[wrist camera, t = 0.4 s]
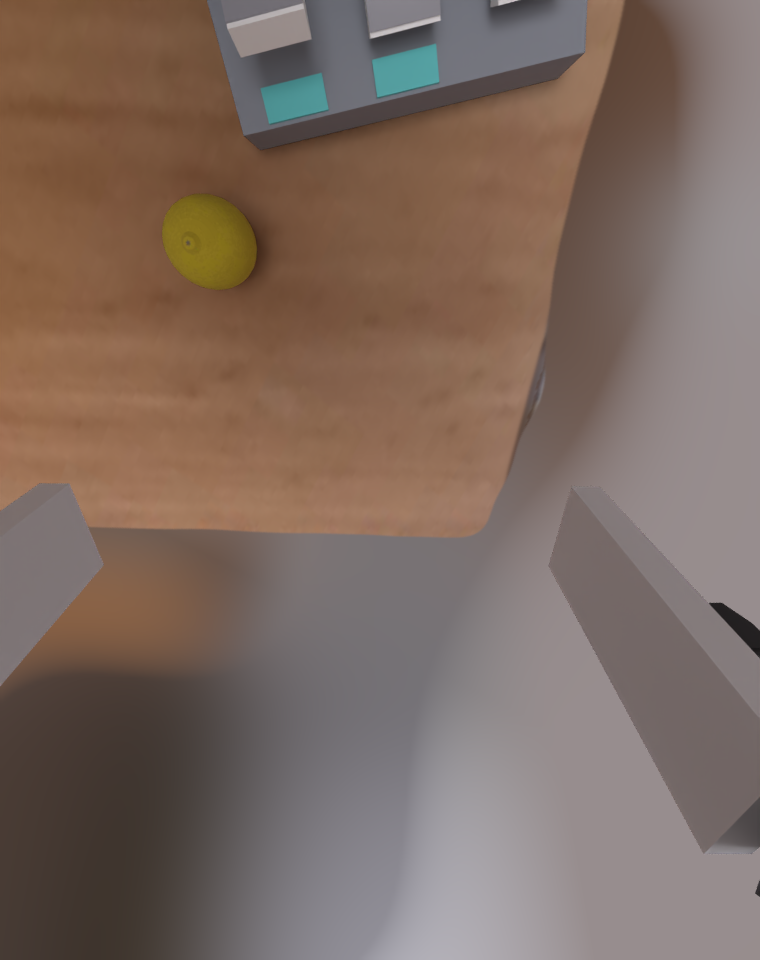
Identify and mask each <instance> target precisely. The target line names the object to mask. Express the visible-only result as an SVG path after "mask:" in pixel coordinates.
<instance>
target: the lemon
mask: <svg viewBox="0 0 760 960" xmlns="http://www.w3.org/2000/svg"><path fill="white" fill-rule="evenodd" d="M162 238H163V245H164V248H165V251H166V253H167V256H168V258H169V259H170V261H171V262H172V264H173V266H174V267H175V268H176V269H177V270H178V271H179V272H180V274H181V275H183V276H184V277H185V278H187V279H188V280H189V281H191V282H192V283H194V284H197V285H199V286H202V287H204V288H208V289H214V290H223V289H230V288H232V287H235V286H237V285H239V284H241V283H242V282H243V281H244V280H245V279H246V278H248V276H249V275H250V273H251V272H252V270H253V268H254V265H255V262H256V258H257V245H256V239H255V235H254V233H253V230H252V227H251V225H250V224H249V222H248V221H247V219H246V218H245V216H244V215H243V214H242V213H241V212H240V211H239V210H238V209H237V208H236V207H235V206H234V205H233V204H231V203H229V202H228V201H226V200H224V199H223V198H220V197H217V196H214V195H211V194H193V195H189V196H186V197H183V198H181V199H180V200H178V201H177V202H176V203H174V204H173V205H172V206H171V208H170V209H169V210H168V212H167V213H166V216H165V219H164V222H163V228H162Z"/></svg>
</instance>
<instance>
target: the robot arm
mask: <svg viewBox="0 0 760 960" xmlns="http://www.w3.org/2000/svg"><path fill="white" fill-rule="evenodd" d="M103 565H104V564H103V562H102V559H101V557H100V555H99V552H98V550H97V548H96V545H95V543H94V540H93V538H92V536H91V533H90V531H89V529H88V526H87V524H86V522H85V519H84V517H83V515H82V512H81V510H80V508H79V505H78V503H77V500H76V498H75V496H74V493H73V491H72V489H71V486H70V484H44V483H40V484H38V485H37V486H35V487H34V488H32V489H31V490H30V491H28V492H27V493H25V494H24V495H23V496H21V497H20V498H18V499H17V500H15V501H14V502H13V503H11V504H10V505H8V506H7V507H6V508H4V509H3V510H1V511H0V686H1V684H2V683H3V682H4V681H5V680H6V679H7V677H8V676H9V675H10V674H11V673H12V672H13V670H14V669H15V668H16V667H17V666H18V665H19V663H20V662H21V661H22V660H23V659H24V658H25V656H26V655H27V654H28V653H29V652H30V650H31V649H32V648H33V647H34V646H35V644H36V643H37V642H38V641H39V640H40V639H41V638H42V636H43V635H44V634H45V633H46V632H47V630H48V629H49V628H50V627H51V626H52V625H53V624H54V622H55V621H56V620H57V619H58V618H59V617H60V615H61V614H62V613H63V612H64V611H65V610H66V608H67V607H68V606H69V605H70V604H71V603H72V601H73V600H74V599H75V598H76V597H77V596H78V594H79V593H80V592H81V591H82V590H83V588H84V587H85V586H86V585H87V584H88V583H89V581H90V580H91V579H92V578H93V577H94V576H95V574H96V573H97V572H98V571H99V570H100V568H101V567H102V566H103ZM549 568H550V569H551V572H552V573H553V575H554V577H555V579H556V581H557V583H558V584H559V586H560V588H561V590H562V592H563V594H564V596H565V598H566V599H567V601H568V603H569V605H570V607H571V609H572V611H573V612H574V614H575V616H576V618H577V620H578V622H579V623H580V625H581V627H582V629H583V631H584V633H585V635H586V636H587V638H588V640H589V642H590V644H591V646H592V647H593V650H594V651H595V653H596V655H597V657H598V659H599V660H600V663H601V664H602V666H603V668H604V670H605V672H606V674H607V675H608V677H609V679H610V681H611V683H612V685H613V686H614V688H615V690H616V692H617V694H618V696H619V698H620V700H621V702H622V703H623V705H624V707H625V709H626V711H627V713H628V714H629V716H630V718H631V720H632V722H633V724H634V726H635V727H636V729H637V731H638V733H639V735H640V737H641V739H642V740H643V742H644V744H645V746H646V748H647V750H648V752H649V753H650V755H651V757H652V759H653V761H654V763H655V765H656V767H657V768H658V770H659V772H660V774H661V776H662V778H663V780H664V781H665V783H666V785H667V787H668V789H669V791H670V792H671V794H672V796H673V798H674V800H675V802H676V804H677V806H678V807H679V809H680V811H681V813H682V815H683V817H684V819H685V820H686V822H687V824H688V826H689V828H690V830H691V832H692V833H693V835H694V837H695V839H696V840H697V843H698V845H699V846H700V848H701V850H702V852H703V854H752V853H753V852H755V851H756V850H757V849H758V848H759V847H760V631H759V630H758V629H757V628H756V627H755V626H754V625H753V624H752V623H751V622H749V621H748V620H746V619H745V618H743V617H742V616H740V615H739V614H738V613H736V612H735V611H733V610H732V609H730V608H728V607H727V606H726V605H724V604H723V603H708V602H707V601H706V600H705V599H704V598H703V597H702V596H701V595H700V594H699V593H698V591H697V590H696V589H694V587H693V586H692V585H691V584H690V583H689V582H688V581H687V580H686V579H685V578H684V577H683V575H682V574H681V573H680V572H679V571H678V570H677V569H676V568H675V567H674V566H673V565H672V564H671V563H670V561H669V560H668V559H667V558H666V557H665V556H664V555H663V554H662V553H661V552H660V551H659V550H658V548H657V547H656V546H655V545H654V544H653V543H652V542H651V541H650V540H649V539H648V538H647V537H646V536H645V534H644V533H642V531H641V530H640V529H639V528H638V527H637V526H636V525H635V524H634V523H633V522H632V520H630V518H629V517H628V516H627V515H626V514H625V513H624V512H623V511H622V510H621V509H620V508H619V507H618V506H617V504H616V503H615V502H614V501H613V500H612V499H611V498H610V497H609V496H608V495H607V494H606V493H605V491H603V489H602V488H601V487H588V486H587V487H585V486H583V487H582V486H579V487H577V486H574V487H573V486H571V489H570V492H569V496H568V500H567V503H566V506H565V510H564V513H563V517H562V521H561V524H560V527H559V531H558V535H557V538H556V542H555V545H554V549H553V552H552V556H551V559H550V563H549ZM756 894H757V895H758V896H760V881H759V884H758V886H757V890H756Z"/></svg>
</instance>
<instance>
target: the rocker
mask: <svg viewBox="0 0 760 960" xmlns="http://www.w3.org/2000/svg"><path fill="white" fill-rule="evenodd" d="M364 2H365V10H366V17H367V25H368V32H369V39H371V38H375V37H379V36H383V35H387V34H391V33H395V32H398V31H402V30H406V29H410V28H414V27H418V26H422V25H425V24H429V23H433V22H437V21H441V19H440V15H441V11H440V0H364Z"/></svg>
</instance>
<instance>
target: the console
mask: <svg viewBox="0 0 760 960" xmlns="http://www.w3.org/2000/svg"><path fill="white" fill-rule="evenodd" d="M207 2H208V6H209V10H210V13H211V17H212V21H213V24H214V28H215V32H216V35H217V39H218V43H219V46H220V50H221V54H222V57H223V61H224V65H225V68H226V72H227V76H228V79H229V83H230V87H231V90H232V94H233V98H234V101H235V105H236V109H237V113H238V116H239V120H240V124H241V127H242V131H243V135H244V136H245V137H246V138H247V139H248V140H249V141H250V142H252V143H253V144H254V145H255V146H256V147H257V148H258V149H260V150H263V149H268V148H272V147H276V146H280V145H284V144H288V143H292V142H297V141H301V140H305V139H309V138H313V137H317V136H321V135H326V134H330V133H334V132H338V131H342V130H346V129H350V128H355V127H359V126H363V125H367V124H371V123H375V122H380V121H384V120H388V119H392V118H396V117H400V116H404V115H409V114H413V113H417V112H421V111H425V110H429V109H433V108H438V107H442V106H446V105H450V104H454V103H458V102H462V101H467V100H471V99H475V98H479V97H483V96H487V95H491V94H496V93H500V92H504V91H508V90H512V89H516V88H520V87H525V86H529V85H533V84H537V83H541V82H545V81H549V80H554V79H558V78H559V77H560V76H561V75H562V74H563V73H564V72H565V71H566V70H567V69H568V68H569V67H570V66H571V65H572V64H573V63H574V62H575V61H576V60H577V59H578V58H580V57H581V56H582V55H583V54H584V53H585V42H586V19H587V0H518V1H514V2H510V3H506V4H503V5H499V6H495V7H490V4H491V0H440V11H441V15H440V19H441V21H437V22H433V23H429V24H425V25H422V26H418V27H414V28H410V29H406V30H402V31H398V32H395V33H391V34H387V35H383V36H379V37H375V38H371V39H369V32H368V25H367V17H366V10H365V2H364V0H305V4H306V10H307V15H308V21H309V27H310V32H311V38H312V39H310V40H307V41H303V42H299V43H295V44H291V45H288V46H284V47H280V48H276V49H272V50H269V51H265V52H261V53H257V54H253V55H250V56H246V57H242V58H241V57H240V55H239V52H238V50H237V48H236V46H235V44H234V42H233V40H232V38H231V36H230V33H229V31H228V29H227V24H226V22H225V17H224V13H223V8H222V3H221V0H207Z"/></svg>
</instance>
